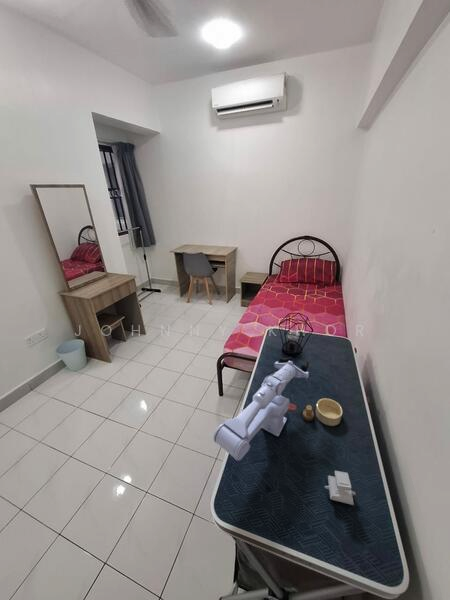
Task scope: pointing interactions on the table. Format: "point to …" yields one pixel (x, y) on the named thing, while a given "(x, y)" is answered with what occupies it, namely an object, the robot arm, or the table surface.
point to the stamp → (340, 488)
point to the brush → (308, 413)
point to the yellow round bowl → (328, 412)
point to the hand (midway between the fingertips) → (299, 361)
